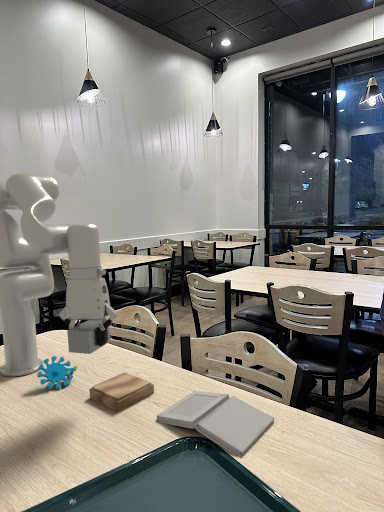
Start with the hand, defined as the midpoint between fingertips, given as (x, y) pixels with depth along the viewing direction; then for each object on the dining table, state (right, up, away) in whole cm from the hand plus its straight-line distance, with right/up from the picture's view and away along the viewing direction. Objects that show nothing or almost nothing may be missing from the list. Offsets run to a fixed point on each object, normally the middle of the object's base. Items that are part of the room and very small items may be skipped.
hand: (90, 343), depth 89 cm
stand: (+7, -15, +5) cm, 17 cm away
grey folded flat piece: (+31, -16, -8) cm, 36 cm away
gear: (-13, -15, +13) cm, 24 cm away
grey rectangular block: (0, -1, 0) cm, 1 cm away
